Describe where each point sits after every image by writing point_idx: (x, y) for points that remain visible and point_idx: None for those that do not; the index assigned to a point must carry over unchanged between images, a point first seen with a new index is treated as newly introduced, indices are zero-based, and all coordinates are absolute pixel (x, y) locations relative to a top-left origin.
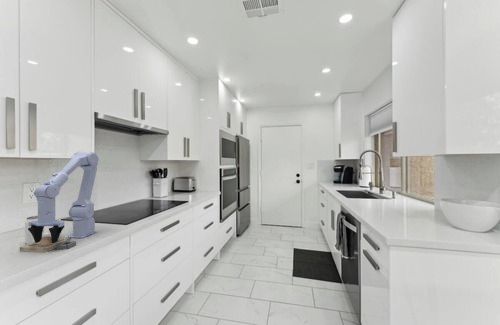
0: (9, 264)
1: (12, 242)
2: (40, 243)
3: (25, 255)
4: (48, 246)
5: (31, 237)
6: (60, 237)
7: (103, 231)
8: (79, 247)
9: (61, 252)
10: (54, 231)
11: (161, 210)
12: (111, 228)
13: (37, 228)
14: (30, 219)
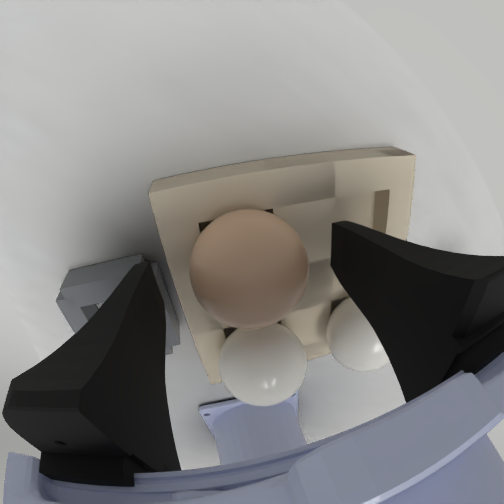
0: None
1: (492, 248)
2: (258, 211)
3: (268, 79)
4: (174, 227)
5: None
6: (221, 362)
7: (200, 452)
8: (33, 316)
9: (31, 219)
10: (36, 370)
11: None
12: (205, 466)
13: (436, 341)
14: None
